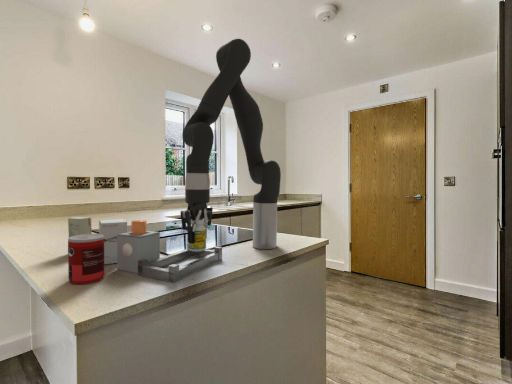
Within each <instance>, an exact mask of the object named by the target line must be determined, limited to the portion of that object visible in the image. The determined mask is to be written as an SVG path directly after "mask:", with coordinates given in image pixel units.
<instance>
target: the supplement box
mask: <svg viewBox="0 0 512 384" xmlns="http://www.w3.org/2000/svg"><path fill="white" fill-rule="evenodd" d="M126 232H128V221H127V220H126V219H125V218H119V219H116V218H115V219H99V221H98V234H101V235H104V265H110V264H118V262H117V234H121V233H126Z"/></svg>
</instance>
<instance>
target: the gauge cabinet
mask: <svg viewBox="0 0 512 384" xmlns="http://www.w3.org/2000/svg"><path fill="white" fill-rule="evenodd" d="M160 238H161V234H160V232H159V231H153V230H146V234H142V235H132V234H131V231H127V232H126V233H121V234H117V262H118V263H117V270H121V271H126V272H129V273H130V272H131V273H135V274H138V260H140V259H148V262H151V261H154V260H157V259H159V258H161V256H160V252H161V251H160V247H161V245H160V242H161V240H160Z"/></svg>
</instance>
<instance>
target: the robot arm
mask: <svg viewBox="0 0 512 384" xmlns="http://www.w3.org/2000/svg"><path fill="white" fill-rule="evenodd" d="M251 53H252V52H251V48H250V46H249V44H248V43H247V42H246V41H245V40H243V39H241V38H234V39H232V40H230V41H228V42H227V43H225V44H223V45H222V46H220V47H219V48H218V49H217V51H216V55H215V60H216V65H217V68H218V71H219V73H218V74H217V76H216V77H215V78H214V80H213V81H212V82H211V84H210V85H209V86H208V87H207V89H206V91H205V92H204V94H203V96H202V98H201V99H200V102H199V104H198V107H197V109H196V110H195V111H194V113H193V114H192V116H191V117H190V118H189V120H188V121H187V122H186V124H185V125H184V127H183V129H182V135H181V137H182V141H183V142H184V144H185V145H186V146H188V147H190V148H191V153H190V154H188V155H187V156H186V161H185V179H184V180H185V181H184V182H185V183H184V187H185V188H184V191H185V193H184V198H185V200H184V202H185V203H186V204H187V208H186V210H180V220H181V221H180V222H181V226H182V228H181V229H182V230H183V231H186V232H187V244H189V243H191V244H194V243H195V228H196V225H197V224H198V222H199V220H202V219H204V224H203V225H204V226H205V227H206V237H208V236H207V233H208V232H207V231H208V227H209V226H211V225H212V217H213V211H214V210H213V206H208V205H207V204H209V203H210V200H211V199H210V198H211V197H210V195H211V192H210V191H211V189H210V188H211V187H210V186H211V183H210V182H211V180H210V159H211V158H210V157H211V154H212V149H213V145H214V137H215V136H214V131H213V128H212V127H211V125H212V124H215V122H216V121H217V120H218V119H219V117H220V115H221V112H222V110H223V108H224V106H225V104H226V101H227V99H228V97H229V99H230V102H231V107H232V109H233V114H234V117H235V121H236V124H237V128H238V130H239V134H240V137H241V140H242V141H241V142H242V146H243V147H244V148H243V150H244V152H245V156H246V163H247V169H248V173H249V176H250V177H249V178H250V180H251V181H252V182H253V183H254V184H256V185H261V187H260V190H259V191H258V192H257V193H255V194H254V195H253V197H252V198H253V207H252V210H253V211H252V216H253V217H252V247H253V248H254V249H260V250H272V249H277V235H278V233H277V232H278V230H277V229H278V227H277V226H278V198H279V196H280V190H281V176H282V175H281V173H282V172H281V167H280V165H279V163H278V162H277V161H275V160H269V159H268V160H264V157H263V154H262V153H263V152H262V150H261V148H262V147H261V143H262V136H263V131H264V123H263V122H264V121H263V118H262V114H261V110H260V106H259V105H258V103H257V102H256V100H255V99H254V97H253V96H252V95H251V93H249V91H248V90H247V89H246V88H245V85H244V83H243V80H242V76H241V75H242V73H243V72H245V69H246V68H247V67H248V65H249V64H250V61H251V58H252V57H251V56H252V54H251ZM191 220H195V221H191ZM192 224H193V225H192ZM191 226H192V227H191Z"/></svg>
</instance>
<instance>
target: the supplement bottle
mask: <svg viewBox="0 0 512 384" xmlns="http://www.w3.org/2000/svg"><path fill="white" fill-rule="evenodd" d="M191 221H195V220H192V219H191ZM203 224H204V219H202V220H199V222H198V224H197V225H196V228H195V243H194V244H191V243H188V244H189V250H190V251H203V250H205V249H207V236H206V227H205V226H204V225H203ZM192 225H193V224H191V227H192Z"/></svg>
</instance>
